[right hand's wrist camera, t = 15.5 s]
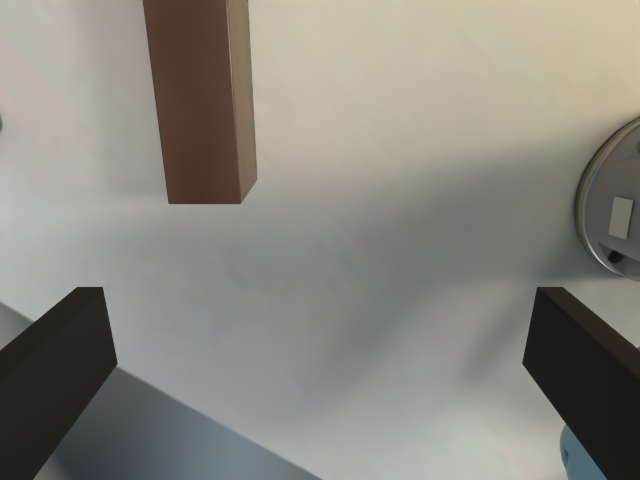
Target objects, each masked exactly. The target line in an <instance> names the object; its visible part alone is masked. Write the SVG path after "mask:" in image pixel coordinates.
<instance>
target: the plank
mask: <svg viewBox="0 0 640 480" xmlns="http://www.w3.org/2000/svg"><path fill="white" fill-rule="evenodd" d="M143 6H144V14H145V22H146V29H147V37H148V45H149V53H150V61H151V69H152V76H153V84H154V92H155V100H156V108H157V116H158V124H159V131H160V139H161V147H162V155H163V163H164V171H165V178H166V186H167V194H168V202H169V204H241V203H242V201H243V200H244V198H245V197H246V195H247V194H248V192H249V191H250V189H251V188H252V187H253V185H254V184H255V182H256V181H257V166H256V146H255V127H254V108H253V88H252V69H251V50H250V30H249V11H248V0H143Z"/></svg>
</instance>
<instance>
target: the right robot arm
mask: <svg viewBox="0 0 640 480" xmlns="http://www.w3.org/2000/svg"><path fill="white" fill-rule="evenodd" d="M575 221H576V227H577V231H578V235H579V237H580V240H581V242H582V244H583V245H584V247H585V249H586V250H587V251H588V253H589V254H590V255H591V256H592V257H593V258H594V259H595V260H596V261H598V262H599V263H600V264H602V265H604V266H605V267H607V268H608V269H610V270H611V271H613V272H615V273H617V274H619V275H621V276H623V277H626V278H629V279H632V280H634V281H638V282H640V118H638V119H636V120H634V121H633V122H631V123H629V124H628V125H626V126H625V127H624V128H622V129H621V130H620V131H618V132H617V133H616V134H615V135H614V136H613V137H612V138H610V139H609V140H608V141H607V143H606V144H605V145H604V146H603V147H602V148H601V149H600V150H599V152H598V153H597V154H596V156H595V157H594V158H593V160H592V161H591V163H590V165H589V166H588V168H587V170H586V172H585V174H584V176H583V178H582V181H581V184H580V186H579V190H578V193H577V198H576V204H575ZM117 364H118V363H117V358H116V353H115V347H114V342H113V337H112V332H111V327H110V322H109V317H108V312H107V307H106V302H105V297H104V292H103V287H77V288H76V289H74V290H73V291H72V292H71V293H69V294H68V295H67V296H66V297H65V298H63V299H62V300H61V301H60V302H59V303H57V304H56V305H55V306H54V307H52V308H51V309H50V310H49V311H48V312H46V313H45V314H44V315H43V316H42V317H40V318H39V319H38V320H37V321H35V322H34V323H33V324H32V325H31V326H29V327H28V328H27V329H26V330H25V331H23V332H22V333H21V334H20V335H19V336H17V337H16V338H15V339H14V340H12V341H11V342H10V343H9V344H8V345H6V346H5V347H4V348H3V349H2V350H0V480H33V479H34V477H35V476H36V475H37V473H38V472H39V471H40V469H41V468H42V467H43V465H44V464H45V462H46V461H47V460H48V458H49V457H50V456H51V454H52V453H53V451H54V450H55V449H56V447H57V446H58V445H59V443H60V442H61V440H62V439H63V438H64V436H65V435H66V434H67V432H68V431H69V430H70V428H71V427H72V425H73V424H74V423H75V421H76V420H77V419H78V417H79V416H80V415H81V413H82V412H83V410H84V409H85V408H86V406H87V405H88V404H89V402H90V401H91V399H92V398H93V397H94V395H95V394H96V393H97V391H98V390H99V389H100V387H101V386H102V384H103V383H104V382H105V380H106V379H107V378H108V376H109V375H110V373H111V372H112V371H113V369H114V368H115V367H116V365H117ZM522 364H523V365H524V367H525V368H526V369H527V371H528V372H529V373H530V375H531V376H532V378H533V379H534V380H535V382H536V383H537V384H538V386H539V387H540V389H541V390H542V391H543V393H544V394H545V395H546V397H547V398H548V399H549V401H550V402H551V404H552V405H553V406H554V408H555V409H556V410H557V412H558V413H559V415H560V416H561V417H562V419H563V420H564V421H565V423H566V425H565V426H564V428H563V430H562V433H561V437H560V452H561V457H562V461H563V464H564V466H565V469H566V472H567V477H568V479H569V480H640V347H639V348H638V349H637V348H636V347H635V346H634V345H632V344H631V343H630V342H629V341H628V340H626V339H625V338H624V337H623V336H621V335H620V334H619V333H618V332H617V331H615V330H614V329H613V328H612V327H611V326H609V325H608V324H607V323H606V322H605V321H603V320H602V319H601V318H600V317H598V316H597V315H596V314H595V313H594V312H592V311H591V310H590V309H589V308H588V307H586V306H585V305H584V304H583V303H581V302H580V301H579V300H578V299H577V298H575V297H574V296H573V295H572V294H571V293H569V292H568V291H567V290H566V289H564V288H563V287H537V292H536V297H535V302H534V307H533V312H532V317H531V322H530V327H529V332H528V337H527V342H526V347H525V353H524V358H523V363H522Z"/></svg>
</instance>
